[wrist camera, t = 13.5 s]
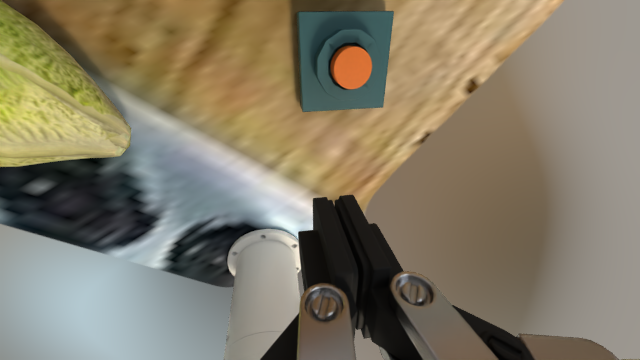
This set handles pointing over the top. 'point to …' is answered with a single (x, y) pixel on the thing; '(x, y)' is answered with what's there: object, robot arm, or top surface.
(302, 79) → the control block
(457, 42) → the top surface
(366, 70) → the button
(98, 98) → the lettuce
